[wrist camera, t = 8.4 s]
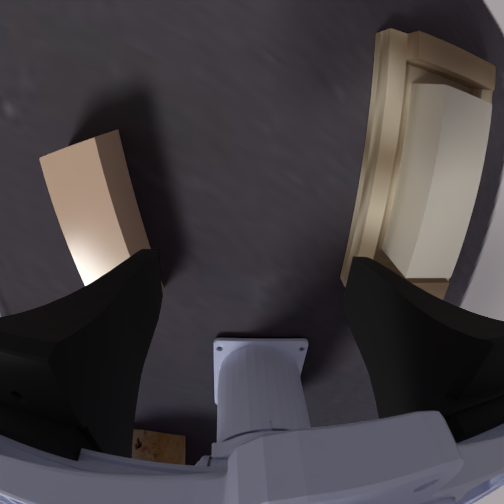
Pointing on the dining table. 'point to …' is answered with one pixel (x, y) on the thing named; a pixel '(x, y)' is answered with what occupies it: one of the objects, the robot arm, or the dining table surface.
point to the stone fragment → (158, 447)
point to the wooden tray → (403, 131)
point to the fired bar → (95, 204)
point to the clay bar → (436, 179)
